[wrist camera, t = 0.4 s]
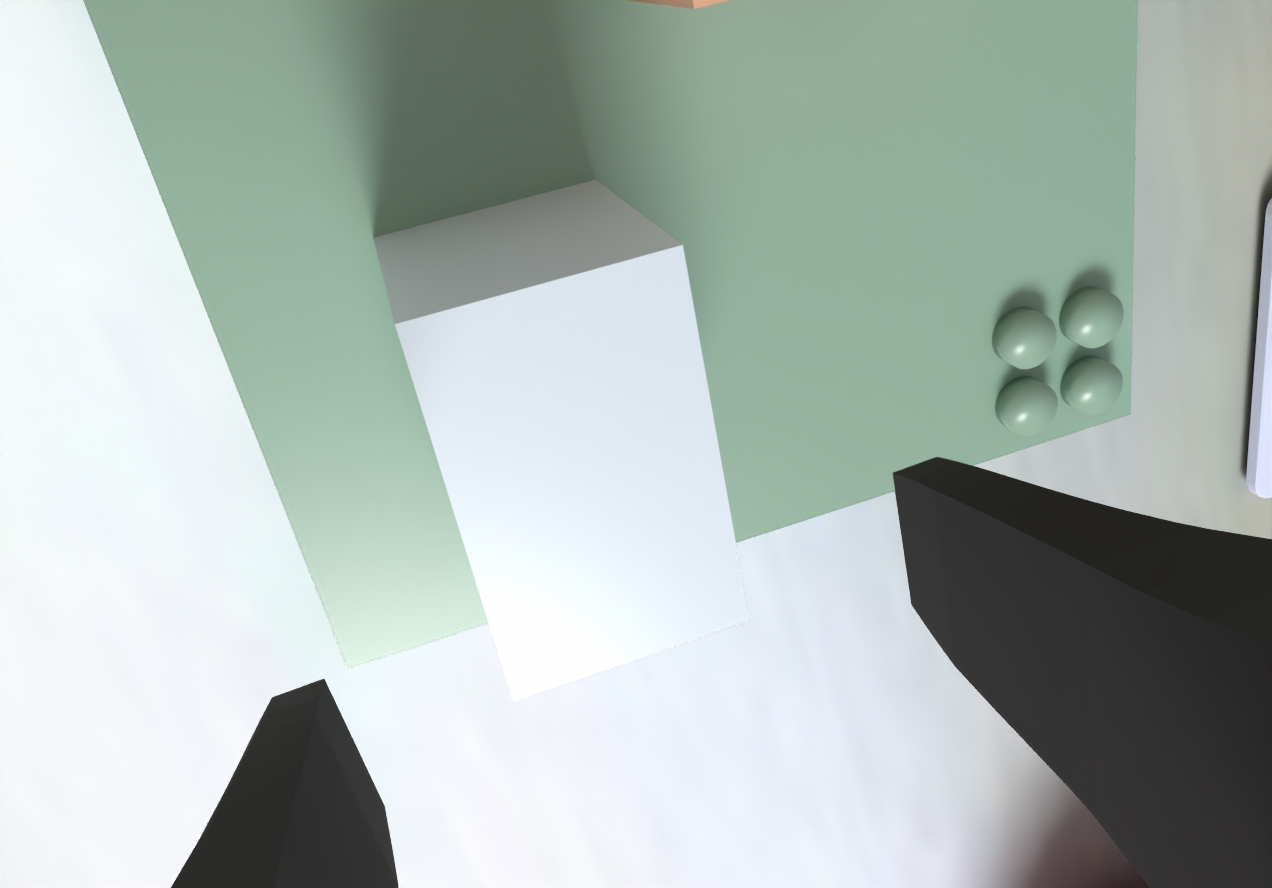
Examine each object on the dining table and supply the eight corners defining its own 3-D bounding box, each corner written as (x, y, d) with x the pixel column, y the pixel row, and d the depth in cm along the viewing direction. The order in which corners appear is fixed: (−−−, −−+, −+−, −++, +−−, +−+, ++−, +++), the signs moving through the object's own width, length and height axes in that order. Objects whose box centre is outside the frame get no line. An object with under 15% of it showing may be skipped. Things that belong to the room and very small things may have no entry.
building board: (1106, -774, 17) (1176, -837, 15) (1102, 398, 25) (1145, 422, 24) (-147, -620, 14) (-195, -683, 12) (346, 641, 23) (348, 684, 21)
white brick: (595, 179, 19) (682, 244, 15) (660, 489, 22) (749, 621, 18) (372, 237, 18) (394, 324, 14) (469, 548, 21) (512, 701, 17)
